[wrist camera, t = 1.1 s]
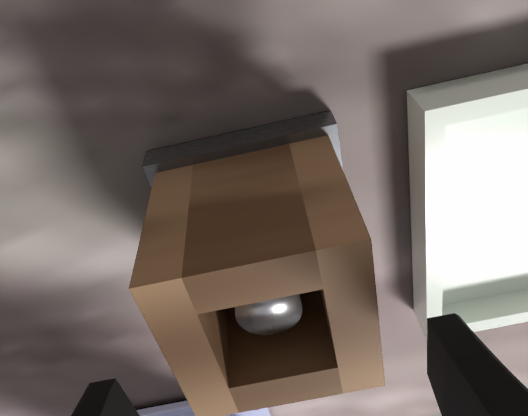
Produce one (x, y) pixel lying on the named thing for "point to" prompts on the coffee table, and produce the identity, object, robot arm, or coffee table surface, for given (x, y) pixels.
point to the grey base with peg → (235, 143)
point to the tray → (470, 198)
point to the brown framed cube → (259, 278)
